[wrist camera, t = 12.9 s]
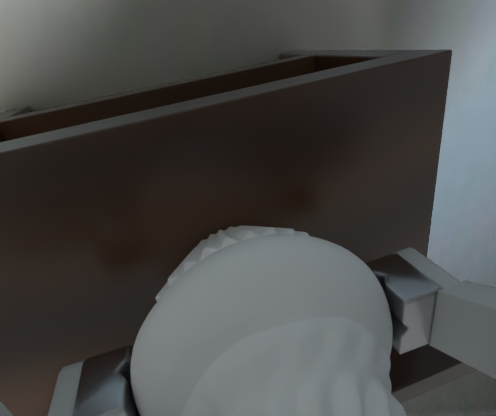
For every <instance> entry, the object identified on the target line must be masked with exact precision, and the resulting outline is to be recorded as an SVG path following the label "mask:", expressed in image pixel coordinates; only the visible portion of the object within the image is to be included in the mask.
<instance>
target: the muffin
mask: <svg viewBox="0 0 496 416" xmlns="http://www.w3.org/2000/svg"><path fill="white" fill-rule="evenodd" d="M167 281H168V282H167V283H166V284H165V285H164V287H163V288H162V289H161V291H160V292H159V293H158V294H157V296H156V298H155V299H156V301H157V303H156V304H155V305H154V307H153V308H152V310H151V311H150V312H149V314H148V315H147V317H146V319H145V321H144V322H143V324H142V326H141V328H140V330H139V332H138V335H137V337H136V340H135V344H134V347H133V351H132V357H131V367H130V375H131V386H132V392H133V396H134V400H135V403H136V406H137V409H138V412H139V414H140V416H407V415H406V413H405V410H404V408H403V407H402V405H401V404H400V402H399V401H398V400H397V399H396V398H395V397H394V396H393V395H392V394H391V389H392V387H391V381H390V377H389V372H390V367H391V362H390V354H391V349H392V336H393V328H392V319H391V313H390V309H389V305H388V301H387V298H386V296H385V293H384V291H383V288H382V286H381V284H380V283H379V281H378V279H377V278H376V276H375V275H374V273H373V272H372V271H371V269H370V268H369V267H368V266H367V265H366V264H365V263H364V262H363V261H362V260H361V259H360V258H358V257H357V256H356V255H354V254H353V253H352V252H350V251H349V250H347V249H345V248H343V247H341V246H339V245H337V244H334V243H332V242H329V241H326V240H323V239H320V238H316V237H311V236H309V234H308V233H306V232H299V231H294V229H290V228H276V227H261V226H243V225H240V226H238V227H228V229H227V230H219V231H218V232H217V233H216V234H210V235H209V237H208V239H205V240H201V242H200V243H199V244H198V245H197V247H195V248H194V249H193V250H192V251H191V252H190V253H189V254H188V255H187V257H186V258H185V259H184V260H183V261H182V263H181V264H180V265H179V266H178V267H177V268H176V269H175V270H174V272H173V273H172V274H171V275H170V276H169V277H168V280H167Z"/></svg>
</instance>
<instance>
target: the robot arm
mask: <svg viewBox="0 0 496 416" xmlns="http://www.w3.org/2000/svg"><path fill="white" fill-rule="evenodd" d="M365 264H366V265H367V266H368V267H369V268H370V269H371V271H372V272H373V273H374V275H375V276H376V278H377V279H378V281H379V283H380V284H381V286H382V288H383V291H384V293H385V296H386V298H387V301H388V305H389V309H390V313H391V319H392V328H393V336H392V346H393V347H394V348H395V349H396V351H397V352H398V353H399V354H403V353H405V352H408V351H411V350H413V349H416V348H419V347H421V346H424V345H427V344H429V343H430V346H432V347H434V348H436V349H438V350H439V351H441V352H443V353H445V354H447V355H449V356H451V357H453V358H455V359H457V360H459V361H461V362H463V363H465V364H467V365H469V366H471V367H473V368H475V369H476V370H478V371H480V372H482V373H484V374H486V375H488V376H490V377H492V378H494V379H496V288H493V287H489V286H485V285H481V284H478V283H474V282H470V281H467V280H465V281H462V282H460V281H459V280H457V279H456V278H454V277H453V276H452V275H450V274H449V273H447V272H446V271H445V270H443V269H442V268H440V267H439V266H438V265H436V264H435V263H434V262H432V261H431V260H429V259H428V258H427V257H425V256H424V255H422V254H421V253H420V252H418V251H417V250H416V249H414V248H410V247H409V248H406V249H403V250H400V251H397V252H395V253H393V254H389V255H386V256H384V257H381V258H378V259H375V260H372V261H370V262H367V263H365ZM132 351H133V347H132V346H130V345H128V346H125V347H122V348H119V349H116V350H112V351H109V352H106V353H103V354H100V355H97V356H94V357H91V358H87V359H86V360H83V361H80V362H76V363H73V364H70V365H67V366H64V367H63V368H62V369H61V371H60V372H59V374H58V378H57V382H56V385H55V389H54V393H53V397H52V401H51V404H50V408H49V412H48V416H140V414H139V412H138V409H137V406H136V403H135V400H134V396H133V392H132V386H131V375H130V367H131V357H132Z"/></svg>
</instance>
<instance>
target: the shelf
mask: <svg viewBox="0 0 496 416" xmlns="http://www.w3.org/2000/svg"><path fill="white" fill-rule="evenodd" d="M279 56H280V60H277V61H272V62H267V63H263V64H258V65H253V66H248V67H244V68H239V69H234V70H229V71H225V72H220V73H215V74H210V75H206V76H201V77H196V78H191V79H187V80H182V81H177V82H172V83H168V84H163V85H158V86H153V87H149V88H144V89H139V90H134V91H130V92H125V93H120V94H115V95H111V96H106V97H101V98H96V99H92V100H87V101H82V102H77V103H73V104H68V105H63V106H59V107H54V108H49V109H44V110H40V111H35V112H32V110H31V107H30V106H26V107H21V108H17V109H12V110H7V111H4V112H2V113H0V401H1V403H2V404H3V405H4V406H5V407H6V408H7V409H8V410H9V411H10V412H11V414H12V415H13V416H48V412H49V408H50V404H51V401H52V397H53V393H54V389H55V385H56V382H57V378H58V374H59V372H60V371H61V369H62V368H63V367H64V366H67V365H70V364H73V363H76V362H80V361H83V360H86V359H87V358H91V357H94V356H97V355H100V354H103V353H106V352H109V351H112V350H116V349H119V348H122V347H125V346H128V345H130V346H132V347H134V344H135V340H136V337H137V335H138V332H139V330H140V328H141V326H142V324H143V322H144V321H145V319H146V317H147V315H148V314H149V312H150V311H151V310H152V308H153V307H154V305H155V304H156V303H157V301H156V299H155V298H156V296H157V294H158V293H159V292H160V291H161V289H162V288H163V287H164V285H165V284H166V283H167V282H168V281H167V280H168V277H169V276H170V275H171V274H172V273H173V272H174V270H175V269H176V268H177V267H178V266H179V265H180V264H181V263H182V261H183V260H184V259H185V258H186V257H187V255H188V254H189V253H190V252H191V251H192V250H193V249H194V248H195V247H197V245H198V244H199V243H200V242H201V240H205V239H208V237H209V235H210V234H216V233H217V232H218V231H219V230H227V229H228V227H238V226H240V225H243V226H261V227H276V228H290V229H294V231H299V232H306V233H308V234H309V236H311V237H316V238H320V239H323V240H326V241H329V242H332V243H334V244H337V245H339V246H341V247H343V248H345V249H347V250H349V251H350V252H352V253H353V254H354V255H356V256H357V257H358V258H360V259H361V260H362V261H363V262H364V263H367V262H370V261H372V260H375V259H378V258H381V257H384V256H386V255H389V254H393V253H395V252H397V251H400V250H403V249H406V248H409V247H410V248H414V249H416V250H417V251H418V252H420V253H421V254H422V255H424V256H425V257H427V250H428V242H429V234H430V225H431V217H432V209H433V201H434V193H435V185H436V177H437V169H438V161H439V153H440V145H441V137H442V128H443V120H444V112H445V104H446V96H447V88H448V80H449V72H450V64H451V56H452V50H296V51H292V52H287V53H282V54H280V55H279ZM390 362H391V367H390V372H389V377H390V381H391V387H392V389H391V394H392V395H393V396H394V397H395V398H396V399H397V400H398V401H399V402H400V404H401V403H403V402H406V401H408V400H410V399H412V398H414V397H417V396H419V395H421V394H423V393H426V392H428V391H430V390H432V389H435V388H437V387H439V386H441V385H444V384H446V383H448V382H450V381H453V380H455V379H457V378H459V377H462V376H464V375H466V374H468V373H471V372H473V371H475V370H476V369H475V368H473V367H471V366H469V365H467V364H465V363H463V362H461V361H459V360H457V359H455V358H453V357H451V356H449V355H447V354H445V353H443V352H441V351H439V350H438V349H436V348H434V347H432V346H430V343H429V344H427V345H424V346H421V347H419V348H416V349H413V350H411V351H408V352H405V353H403V354H399V353H398V352H397V351H396V349H395V348H394V347H393V346H392V349H391V354H390Z"/></svg>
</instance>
